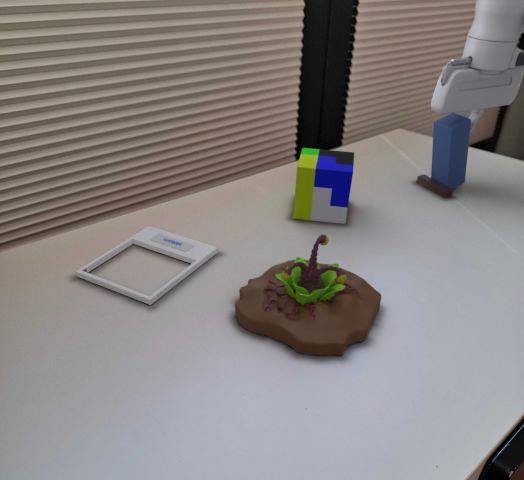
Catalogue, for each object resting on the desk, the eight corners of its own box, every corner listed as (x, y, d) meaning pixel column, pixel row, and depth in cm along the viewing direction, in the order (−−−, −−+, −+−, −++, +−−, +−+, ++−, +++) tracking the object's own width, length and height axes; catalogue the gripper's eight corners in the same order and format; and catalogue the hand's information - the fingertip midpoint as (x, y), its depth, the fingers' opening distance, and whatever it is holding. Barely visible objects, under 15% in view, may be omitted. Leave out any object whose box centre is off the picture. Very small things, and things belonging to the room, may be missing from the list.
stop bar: (422, 180, 113) (424, 174, 112) (452, 196, 107) (454, 189, 106) (416, 182, 113) (417, 175, 112) (445, 198, 107) (447, 191, 106)
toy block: (448, 174, 113) (452, 112, 103) (464, 182, 110) (471, 119, 100) (430, 184, 112) (433, 122, 102) (446, 192, 109) (451, 129, 99)
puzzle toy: (345, 223, 96) (353, 172, 90) (293, 218, 97) (297, 166, 91) (346, 201, 104) (354, 152, 97) (298, 196, 105) (302, 147, 98)
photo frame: (217, 246, 86) (149, 298, 74) (217, 252, 87) (150, 305, 75) (149, 224, 91) (75, 270, 79) (149, 230, 92) (76, 276, 80)
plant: (398, 301, 77) (414, 235, 70) (338, 372, 65) (351, 301, 58) (287, 260, 86) (292, 196, 78) (215, 316, 73) (213, 247, 66)
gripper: (459, 62, 89) (438, 142, 98) (536, 55, 97) (510, 130, 106) (434, 55, 94) (416, 132, 103) (510, 48, 101) (487, 121, 110)
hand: (464, 131), depth 105 cm, fingers closed
